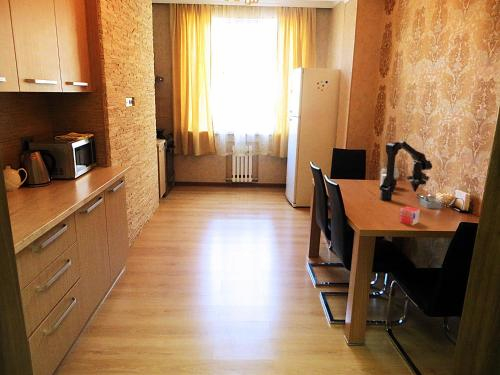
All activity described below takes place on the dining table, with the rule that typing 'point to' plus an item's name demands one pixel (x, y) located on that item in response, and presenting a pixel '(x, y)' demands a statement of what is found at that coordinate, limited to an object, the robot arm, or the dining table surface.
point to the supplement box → (382, 179)
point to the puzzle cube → (409, 215)
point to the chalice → (396, 172)
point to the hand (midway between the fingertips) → (414, 191)
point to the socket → (430, 204)
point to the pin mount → (422, 198)
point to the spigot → (431, 198)
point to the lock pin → (420, 195)
